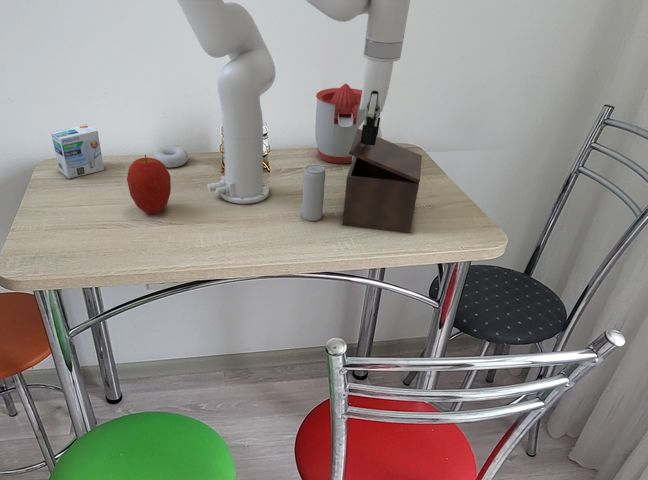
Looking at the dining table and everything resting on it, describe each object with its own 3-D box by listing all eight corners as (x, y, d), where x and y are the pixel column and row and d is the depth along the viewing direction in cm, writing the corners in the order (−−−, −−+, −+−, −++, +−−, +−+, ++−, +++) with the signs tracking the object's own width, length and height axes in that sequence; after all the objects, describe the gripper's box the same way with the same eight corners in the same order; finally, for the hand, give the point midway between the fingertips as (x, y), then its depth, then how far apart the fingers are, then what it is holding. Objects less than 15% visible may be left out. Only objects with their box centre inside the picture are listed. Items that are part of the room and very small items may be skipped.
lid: (348, 154, 121) (358, 130, 117) (356, 131, 132) (365, 109, 128) (418, 183, 121) (430, 160, 118) (420, 158, 132) (431, 137, 129)
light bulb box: (69, 179, 151) (59, 138, 144) (58, 171, 155) (49, 131, 148) (105, 169, 156) (98, 130, 149) (94, 162, 160) (87, 123, 153)
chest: (342, 225, 132) (347, 176, 124) (349, 199, 143) (354, 152, 135) (409, 233, 129) (419, 183, 121) (412, 205, 140) (421, 158, 132)
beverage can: (309, 211, 137) (312, 162, 130) (326, 216, 135) (329, 168, 127) (297, 217, 134) (299, 169, 127) (314, 224, 132) (317, 174, 124)
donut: (185, 154, 165) (151, 157, 163) (184, 143, 163) (149, 145, 161) (192, 167, 158) (156, 171, 155) (191, 155, 156) (155, 158, 153)
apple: (182, 211, 137) (176, 154, 128) (147, 224, 131) (139, 166, 122) (158, 197, 142) (151, 142, 134) (123, 209, 137) (114, 153, 128)
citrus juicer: (313, 169, 157) (317, 93, 144) (311, 146, 170) (315, 75, 158) (369, 170, 157) (379, 94, 144) (363, 147, 170) (372, 76, 157)
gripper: (368, 38, 120) (356, 125, 132) (359, 57, 108) (347, 151, 119) (403, 41, 119) (388, 128, 131) (398, 61, 107) (382, 155, 118)
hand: (369, 138), depth 125 cm, fingers closed on lid, 5 cm apart
